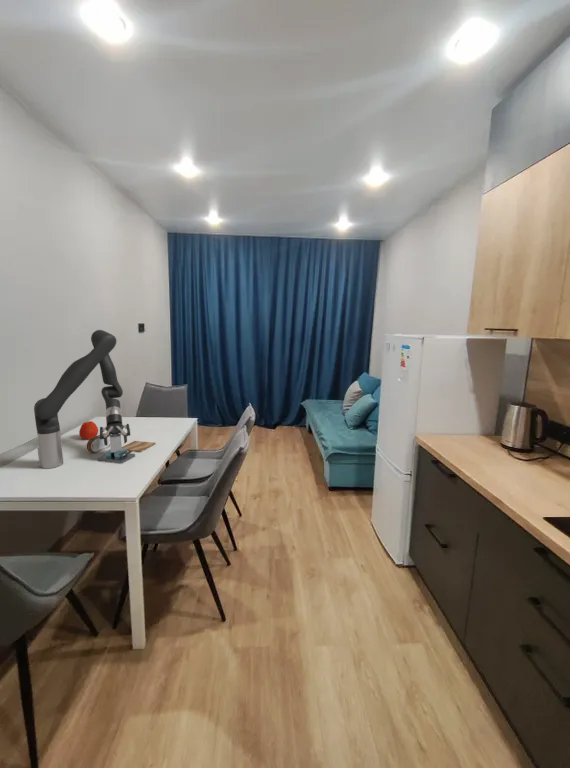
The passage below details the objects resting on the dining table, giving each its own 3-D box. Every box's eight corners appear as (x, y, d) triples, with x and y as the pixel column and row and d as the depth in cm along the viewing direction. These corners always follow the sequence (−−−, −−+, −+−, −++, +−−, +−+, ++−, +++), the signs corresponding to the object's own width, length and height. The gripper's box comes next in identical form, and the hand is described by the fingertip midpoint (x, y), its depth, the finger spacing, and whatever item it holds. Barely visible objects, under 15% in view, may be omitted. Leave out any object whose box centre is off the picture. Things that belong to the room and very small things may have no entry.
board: (118, 450, 193) (118, 448, 193) (134, 442, 206) (134, 440, 206) (140, 452, 190) (140, 450, 190) (155, 444, 203) (155, 442, 203)
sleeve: (111, 452, 177) (109, 437, 175) (111, 449, 181) (109, 434, 180) (121, 451, 179) (120, 436, 178) (121, 448, 183) (120, 433, 182)
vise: (98, 461, 177) (96, 440, 176) (112, 454, 187) (110, 434, 185) (122, 463, 174) (120, 442, 172) (135, 456, 184) (133, 436, 182)
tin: (109, 445, 201) (108, 431, 200) (113, 446, 200) (112, 431, 199) (86, 454, 187) (85, 439, 186) (91, 454, 186) (89, 439, 185)
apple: (97, 439, 211) (96, 422, 209) (78, 441, 207) (76, 424, 206) (99, 434, 220) (98, 418, 219) (81, 436, 217) (79, 420, 215)
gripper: (98, 414, 180) (99, 442, 172) (128, 411, 187) (131, 438, 179) (99, 422, 186) (100, 449, 178) (128, 419, 192) (131, 445, 184)
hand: (115, 443), depth 178 cm, fingers open, 8 cm apart
